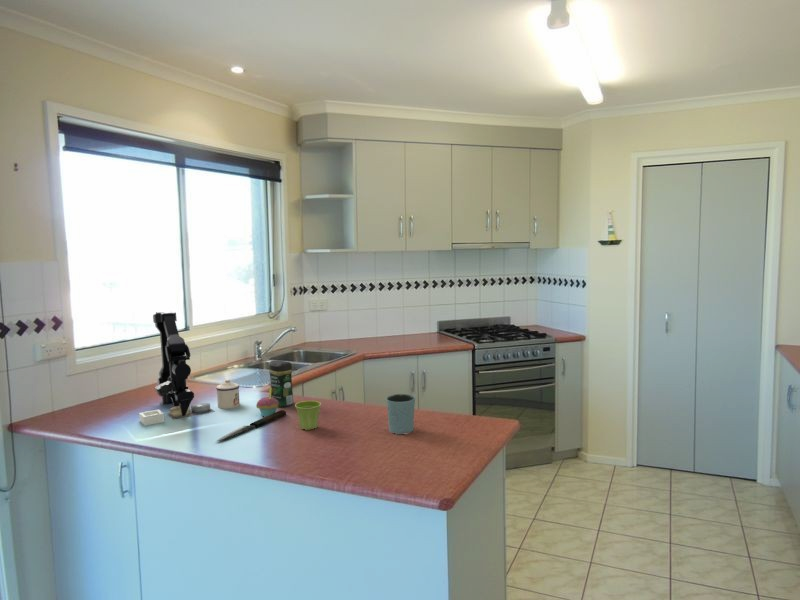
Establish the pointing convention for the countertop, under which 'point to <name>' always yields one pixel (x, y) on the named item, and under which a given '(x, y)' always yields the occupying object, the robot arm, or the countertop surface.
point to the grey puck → (200, 407)
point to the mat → (191, 414)
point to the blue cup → (400, 413)
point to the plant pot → (308, 414)
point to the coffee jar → (281, 382)
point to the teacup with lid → (228, 395)
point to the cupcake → (267, 405)
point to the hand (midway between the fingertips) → (180, 412)
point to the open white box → (151, 417)
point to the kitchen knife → (254, 424)
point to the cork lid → (178, 411)
